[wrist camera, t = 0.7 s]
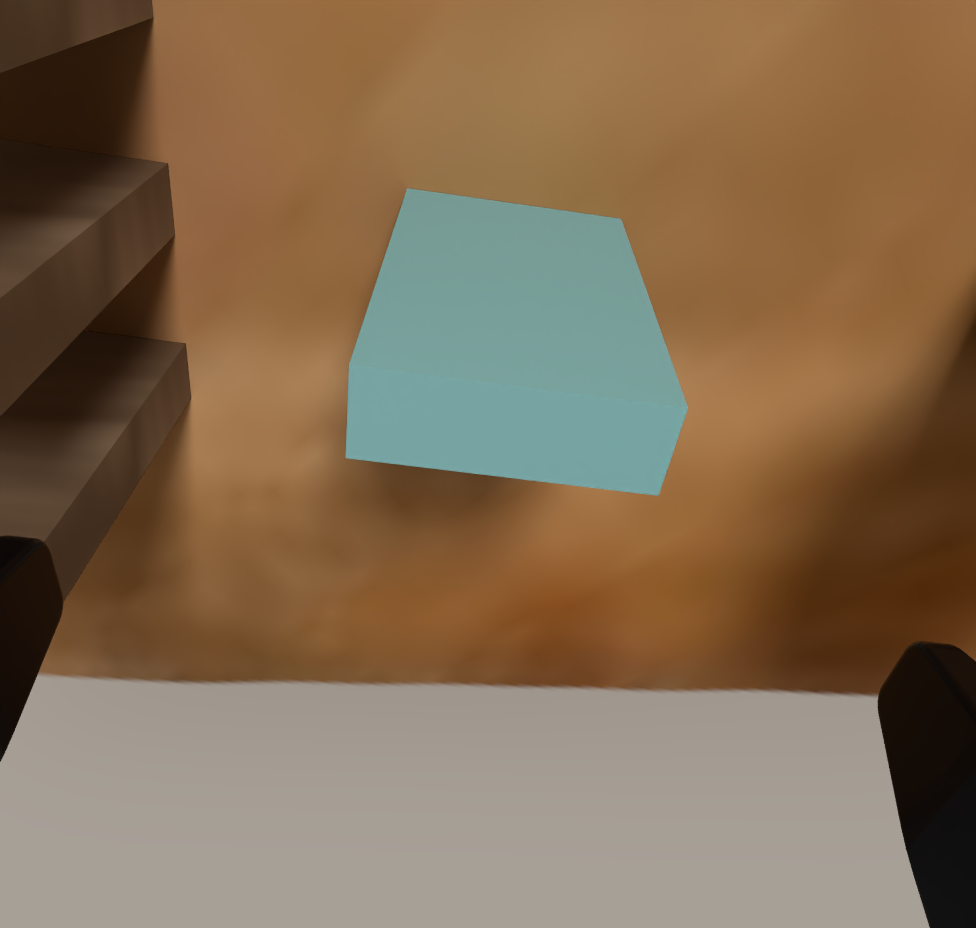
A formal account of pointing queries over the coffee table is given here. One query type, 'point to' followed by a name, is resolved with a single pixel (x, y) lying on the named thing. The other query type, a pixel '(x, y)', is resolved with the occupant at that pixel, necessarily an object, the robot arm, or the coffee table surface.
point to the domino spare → (513, 350)
